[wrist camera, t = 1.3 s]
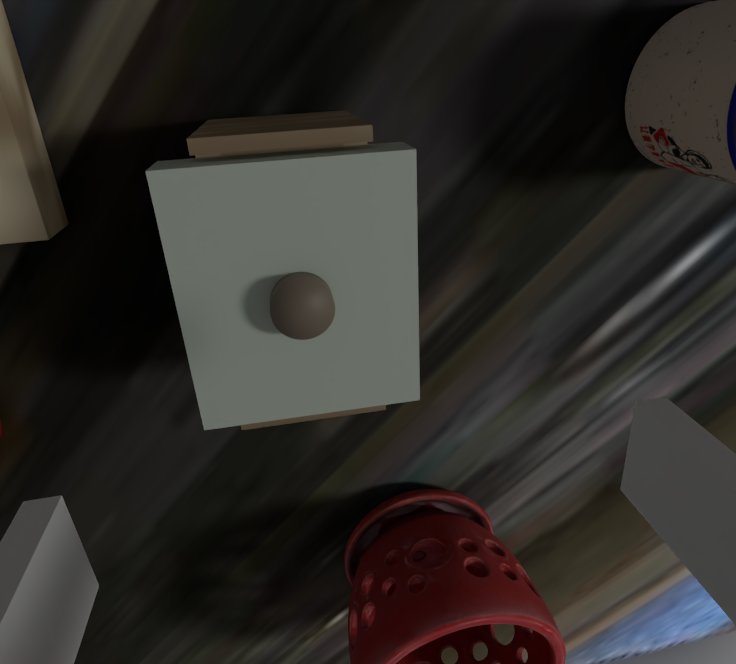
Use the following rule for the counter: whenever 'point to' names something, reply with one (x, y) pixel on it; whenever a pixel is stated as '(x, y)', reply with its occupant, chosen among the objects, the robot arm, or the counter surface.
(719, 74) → the teacup with lid
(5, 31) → the stand
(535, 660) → the plant pot
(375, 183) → the lid
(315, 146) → the wooden box
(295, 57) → the counter surface
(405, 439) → the counter surface
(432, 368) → the counter surface
